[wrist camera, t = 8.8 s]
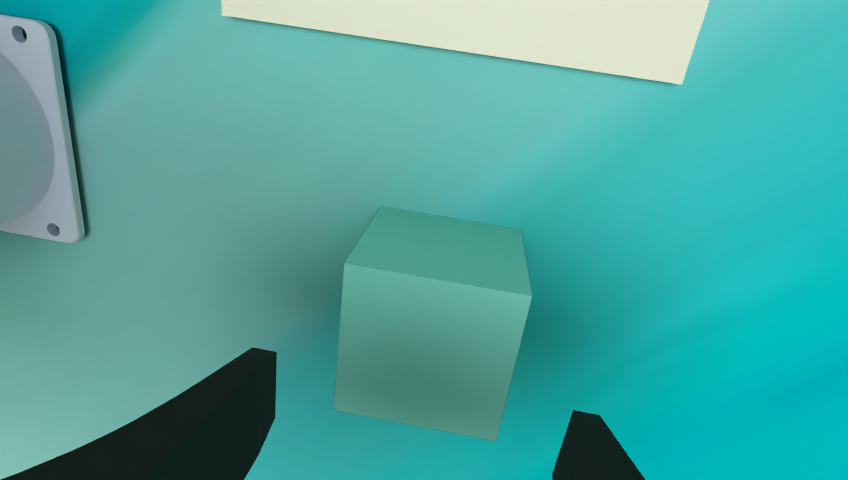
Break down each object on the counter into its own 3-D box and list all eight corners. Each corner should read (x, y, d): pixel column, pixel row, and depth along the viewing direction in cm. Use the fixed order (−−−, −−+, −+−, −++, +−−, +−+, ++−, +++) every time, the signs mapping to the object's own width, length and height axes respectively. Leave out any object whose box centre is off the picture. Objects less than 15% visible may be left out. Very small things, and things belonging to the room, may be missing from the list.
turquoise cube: (370, 322, 19) (333, 409, 15) (382, 205, 17) (344, 263, 13) (494, 345, 19) (495, 441, 14) (520, 228, 17) (532, 296, 13)
